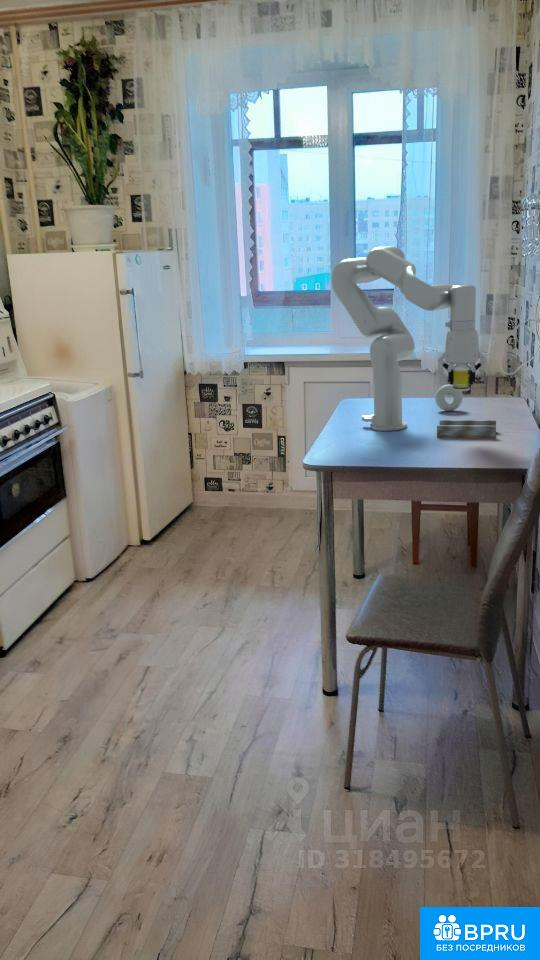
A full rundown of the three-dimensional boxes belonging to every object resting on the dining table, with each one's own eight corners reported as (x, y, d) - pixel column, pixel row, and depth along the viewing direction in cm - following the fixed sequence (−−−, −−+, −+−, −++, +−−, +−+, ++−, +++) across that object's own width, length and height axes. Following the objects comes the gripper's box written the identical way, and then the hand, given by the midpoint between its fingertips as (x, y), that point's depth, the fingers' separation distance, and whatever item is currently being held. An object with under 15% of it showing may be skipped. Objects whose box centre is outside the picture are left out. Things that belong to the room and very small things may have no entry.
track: (436, 437, 249) (436, 425, 248) (439, 430, 257) (439, 419, 256) (494, 438, 243) (495, 426, 242) (495, 431, 251) (496, 420, 250)
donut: (462, 409, 286) (462, 382, 283) (463, 411, 283) (463, 384, 280) (434, 410, 288) (434, 384, 285) (435, 412, 284) (435, 385, 282)
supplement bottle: (470, 391, 240) (471, 360, 237) (452, 391, 242) (452, 360, 239) (470, 388, 245) (471, 357, 242) (452, 388, 247) (453, 357, 244)
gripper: (432, 327, 237) (432, 386, 243) (490, 326, 231) (488, 386, 237) (436, 325, 244) (436, 381, 249) (492, 324, 238) (490, 382, 243)
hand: (461, 383), depth 243 cm, fingers closed on supplement bottle, 5 cm apart
